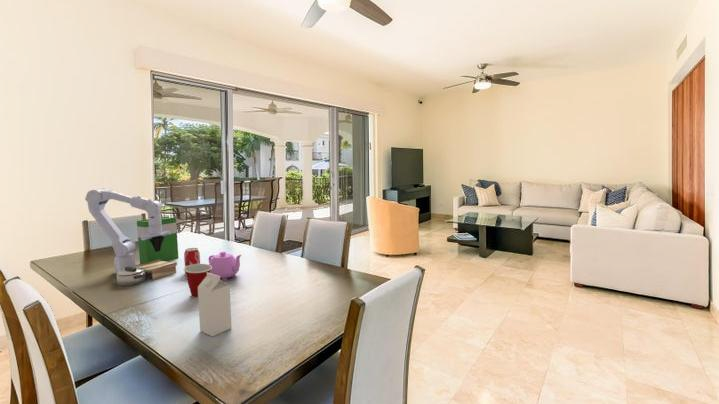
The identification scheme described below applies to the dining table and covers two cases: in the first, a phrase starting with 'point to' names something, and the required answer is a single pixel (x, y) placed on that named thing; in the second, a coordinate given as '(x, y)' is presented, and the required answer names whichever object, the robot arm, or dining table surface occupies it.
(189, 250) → the soda can
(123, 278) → the cooker
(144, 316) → the dining table surface
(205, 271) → the plastic cup
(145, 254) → the hardback book
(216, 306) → the milk carton
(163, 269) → the lid rest
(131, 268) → the lid
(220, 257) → the teapot
